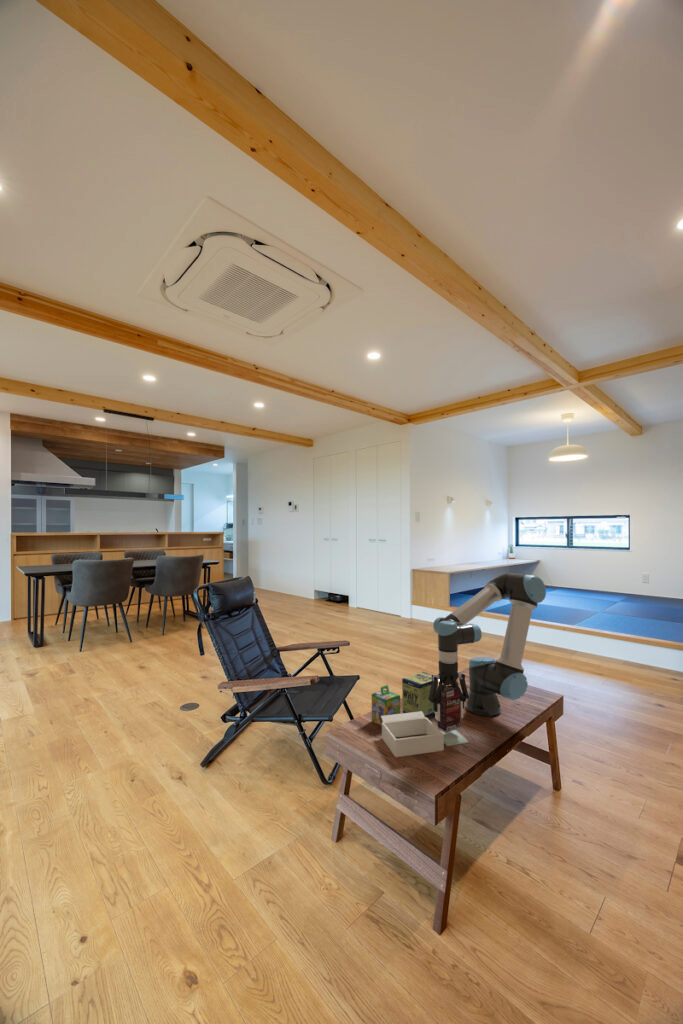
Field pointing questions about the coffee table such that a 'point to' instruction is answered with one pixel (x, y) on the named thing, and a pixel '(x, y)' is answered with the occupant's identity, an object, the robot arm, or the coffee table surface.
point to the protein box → (417, 694)
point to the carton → (411, 726)
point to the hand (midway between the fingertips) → (449, 718)
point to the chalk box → (384, 704)
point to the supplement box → (449, 709)
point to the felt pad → (453, 738)
